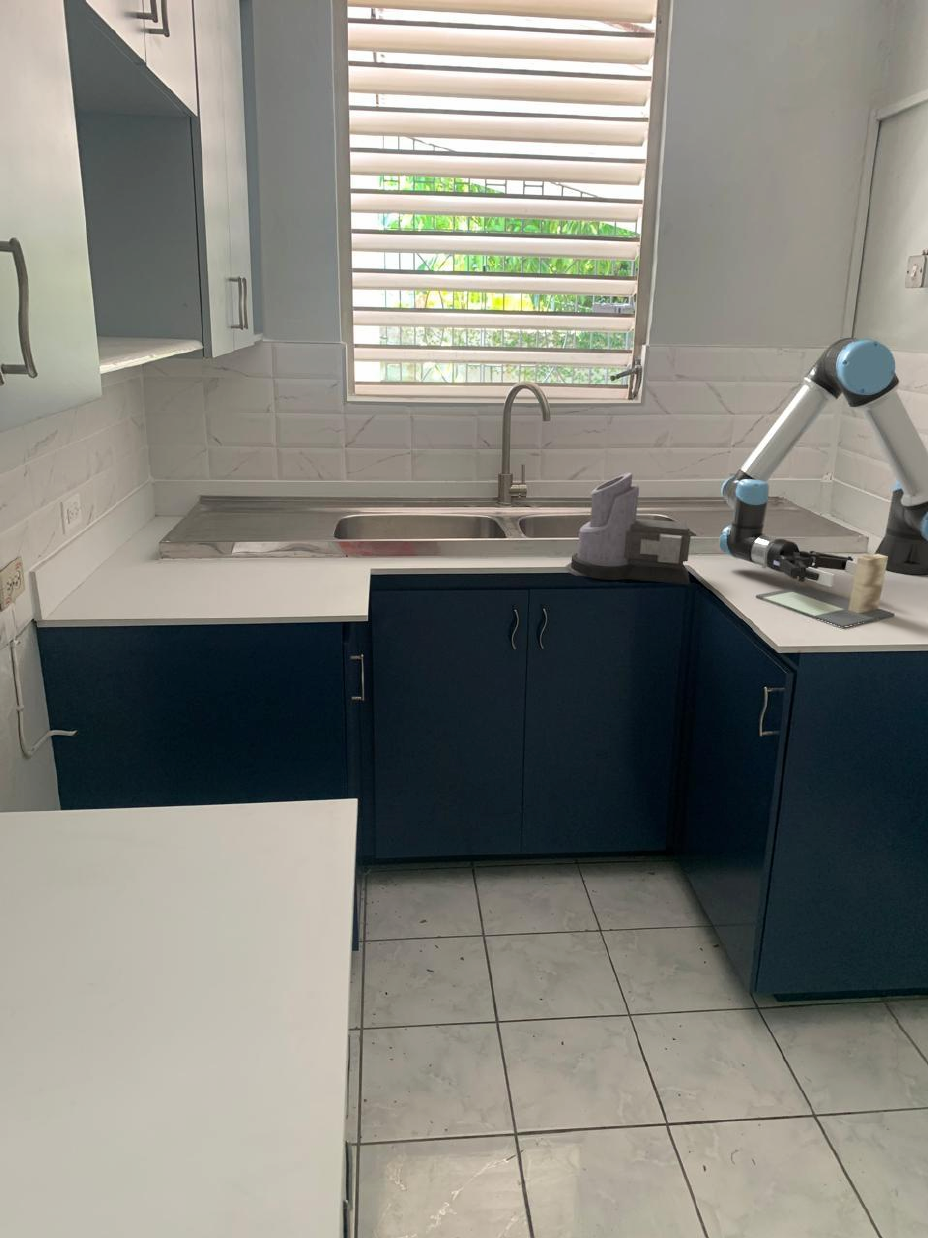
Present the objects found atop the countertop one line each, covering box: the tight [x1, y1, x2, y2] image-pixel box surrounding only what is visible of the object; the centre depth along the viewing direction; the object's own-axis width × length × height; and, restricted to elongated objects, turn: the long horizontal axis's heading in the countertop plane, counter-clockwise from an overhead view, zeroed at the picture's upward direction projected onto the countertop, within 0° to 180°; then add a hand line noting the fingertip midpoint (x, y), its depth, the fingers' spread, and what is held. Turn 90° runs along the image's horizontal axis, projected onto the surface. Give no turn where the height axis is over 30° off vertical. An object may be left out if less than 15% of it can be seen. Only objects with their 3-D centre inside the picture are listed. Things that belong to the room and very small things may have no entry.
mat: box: [755, 584, 895, 627], centre depth 208 cm, size 18×23×1 cm
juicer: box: [565, 472, 692, 586], centre depth 225 cm, size 30×16×24 cm, turn 79°
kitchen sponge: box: [848, 553, 888, 613], centre depth 204 cm, size 7×3×12 cm, turn 123°
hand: (852, 577), depth 206 cm, fingers open, 13 cm apart
